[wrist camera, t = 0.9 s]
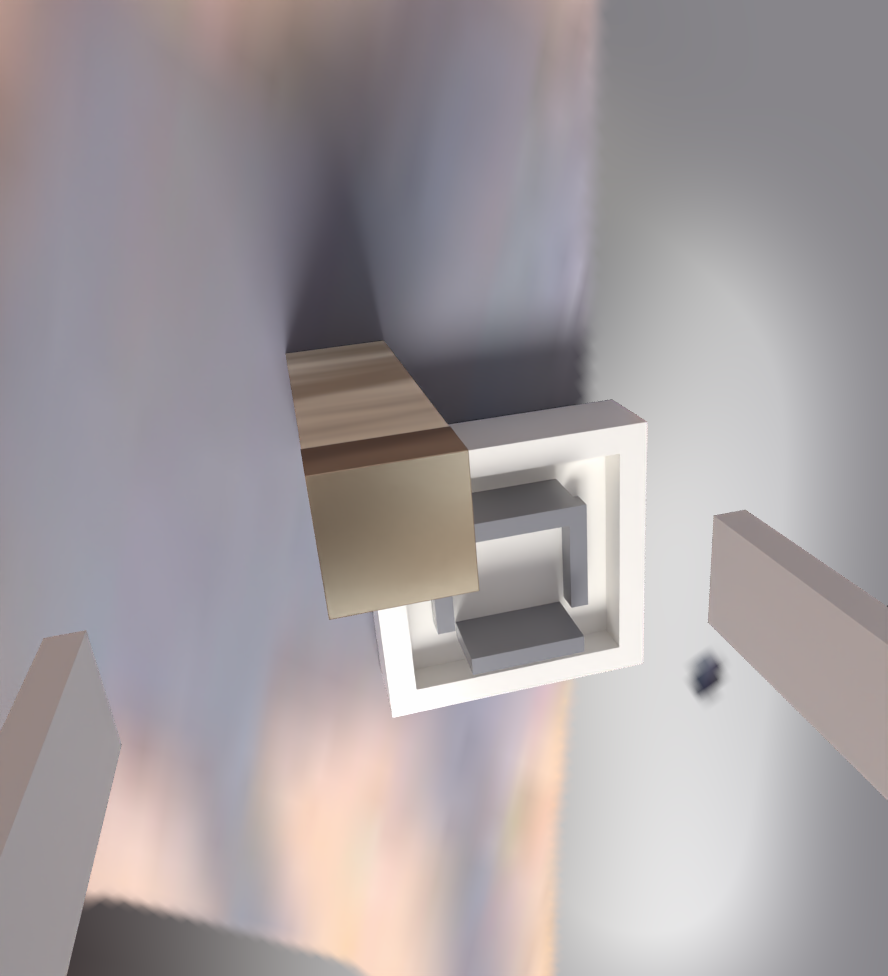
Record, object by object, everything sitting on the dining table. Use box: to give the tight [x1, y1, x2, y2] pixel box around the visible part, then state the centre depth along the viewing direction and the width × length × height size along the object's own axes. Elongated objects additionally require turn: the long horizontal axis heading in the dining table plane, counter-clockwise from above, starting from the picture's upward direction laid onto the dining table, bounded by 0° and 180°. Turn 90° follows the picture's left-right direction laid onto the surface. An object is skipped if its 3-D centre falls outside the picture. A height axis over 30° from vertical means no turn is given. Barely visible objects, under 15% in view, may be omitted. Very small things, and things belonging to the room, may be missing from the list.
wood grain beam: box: [286, 341, 479, 620], centre depth 26 cm, size 4×4×14 cm
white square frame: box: [373, 400, 647, 717], centre depth 34 cm, size 12×12×5 cm
